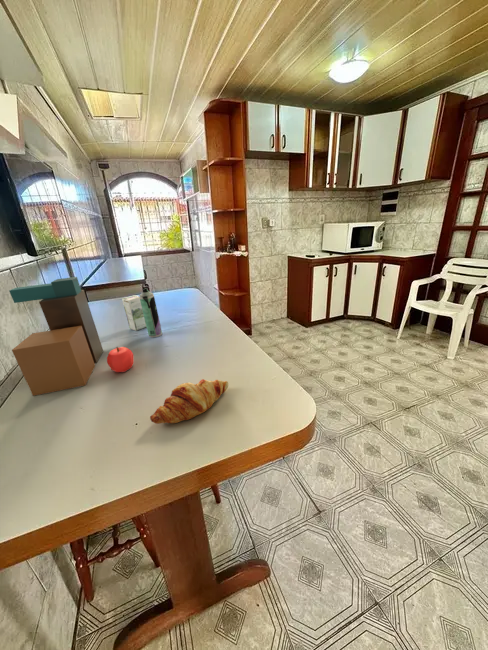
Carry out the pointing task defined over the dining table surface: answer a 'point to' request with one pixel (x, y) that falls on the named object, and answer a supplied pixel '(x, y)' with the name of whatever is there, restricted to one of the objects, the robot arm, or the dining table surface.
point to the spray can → (150, 313)
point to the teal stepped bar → (46, 290)
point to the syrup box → (134, 312)
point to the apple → (120, 359)
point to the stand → (73, 318)
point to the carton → (55, 360)
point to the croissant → (189, 401)
